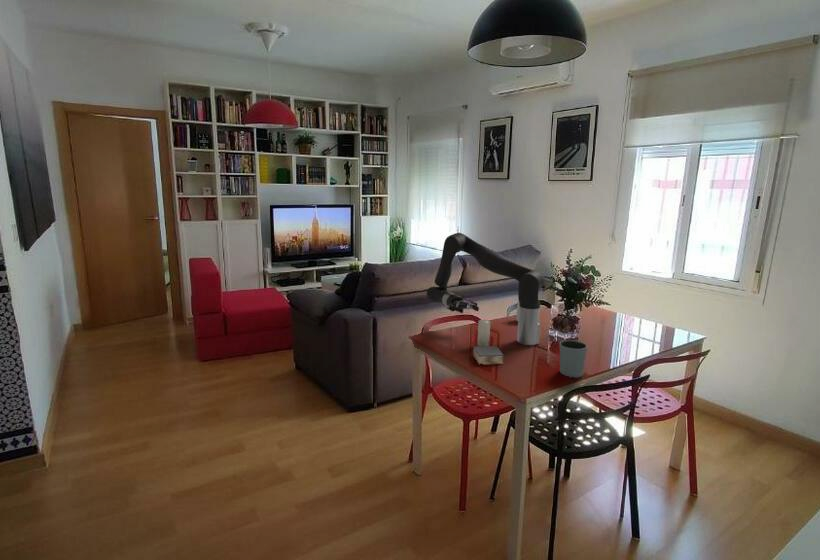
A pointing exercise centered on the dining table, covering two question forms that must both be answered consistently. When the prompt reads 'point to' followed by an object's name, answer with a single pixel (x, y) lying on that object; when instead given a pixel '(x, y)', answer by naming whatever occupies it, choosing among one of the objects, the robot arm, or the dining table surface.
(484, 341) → the pale grey rectangular block
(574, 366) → the plant pot
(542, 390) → the dining table surface
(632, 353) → the dining table surface
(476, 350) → the plinth
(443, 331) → the dining table surface
